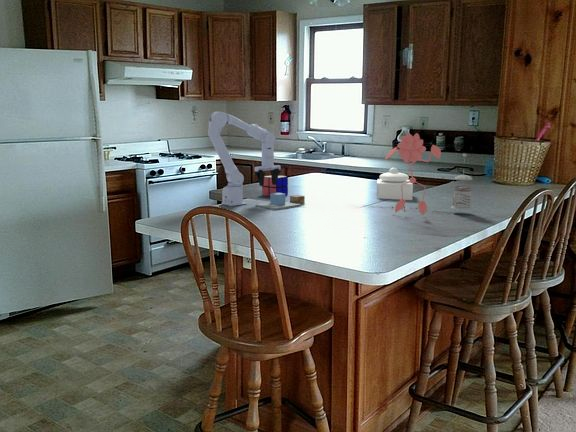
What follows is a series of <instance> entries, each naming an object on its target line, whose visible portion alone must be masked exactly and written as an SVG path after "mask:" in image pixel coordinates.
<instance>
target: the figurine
mask: <svg viewBox="0 0 576 432" xmlns="http://www.w3.org/2000/svg"><path fill="white" fill-rule="evenodd" d="M400 140H401V141H400V142H398V144H397V146H395V147H393V148H391V150H389V152H388V153H387V154H386V156H385V158H384V160H388V159H389V158H391V157H392V156H393V155H394V154H395V153H396V152H398V155H399V156H400V157H401V159H402V160H403V162H404V163H409V162H411V163H410V164H409V170H410V171H409V172H410V175H411V177H409V180H410V181H408V182H410V183H412V184H413V185H414V184H415V183H416V184H418V185H420V186H422V187H423V188H424V190H423V196H422V199H421V200H420V201H419V202H418V205H417V209H418V212H419V213H420V214H421V215H422V216H424V215H425V214H426V212H427V209H428V206H427V204H426V201H424V199H425V194H426V186H425V185H423V184H422V183H420V182H419V183H418V182H417V179H416V177H413V171H412V167H411V166H412V165H414V163H417V162H418V161H420V162H426V163H429V162H430V160H431V157H432V155H433V157H435V158H437V159H438V160H440V159H441V156H442V152H441V148H440V147H438V145H435V144H432V146H431V147H430V153H429V157H428V159H427V160H425V159H422V158H423V154H422V153H425V152H426V150H427V148H426V146H424V139H421V137H420V134H419V133H415V134H414V135H412V134H411V133H409V132H407V133H406V135H402V136H401V137H400ZM408 182H406V183H408ZM406 183H404V184H406ZM404 184H402V185H404ZM405 205H406V200H405V199H403V189H402V199H401V200H400V199H399V201H397V203H396V204H395V207H394V209H391V210H394V213H395V214H396V213H398V212H400V211H401V210H402V209H403V212H404V213H405V212H406V208H405ZM392 216H393V217H395V215H394V214H392ZM397 217H398V218H401V216H399V215H397ZM406 218H409V219H413V217H410V216H408V217H407V216H405V219H406ZM424 218H425V219H426V218H427V217H424Z"/></svg>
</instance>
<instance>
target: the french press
mask: <svg viewBox="0 0 576 432" xmlns="http://www.w3.org/2000/svg"><path fill="white" fill-rule="evenodd" d="M467 156H468V155H467V154H466V153H462V157H463V162H465V161H466V160H465V158H466V157H467ZM462 173H463V174H459V175H458V176H457V175H456V176H455V177H454V180H456V181H472V180H473V177H471V176H469V175H466V174H465V170H463V172H462ZM454 180H453V181H450V182H449V183H448V185H447V189H449V187H450V185H451V184H452V183H453V185H455V184H456V182H455V181H454ZM454 188H455V189H454V190H453V195H451V194H450V192H449V190H447V193H448V195H449V196H450V197H452V205H451V206H450V208H451V209H454V210H458V211H459V210H461V211H463V210H464V211H467V210H468V211H469V210H473V209H474V208H473V206H471V205H472V204H471V202H472V190H471V188H472V187H471V186H468V185H467V186H465V185H456V186H454Z"/></svg>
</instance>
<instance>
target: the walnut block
mask: <svg viewBox="0 0 576 432" xmlns="http://www.w3.org/2000/svg"><path fill="white" fill-rule="evenodd" d="M289 202H291V203H297V204H301V205H305V195H300V194H294V195H289Z"/></svg>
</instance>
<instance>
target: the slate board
mask: <svg viewBox="0 0 576 432" xmlns="http://www.w3.org/2000/svg"><path fill="white" fill-rule="evenodd" d="M258 206H260V207H259V208H262V207H265V208H264V209H267V208H269V209H268V210H271V209H273V210H272V211H281V210H286V209H292V208H299V207H300V208H301V207H302V204H297V203H291V202H290V201H285V204H284V205H278V206H277V205H272V204H270V202H269V201H268V202H265V203H264V202H262V203H256V204H255V207H258ZM280 209H281V210H280Z"/></svg>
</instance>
